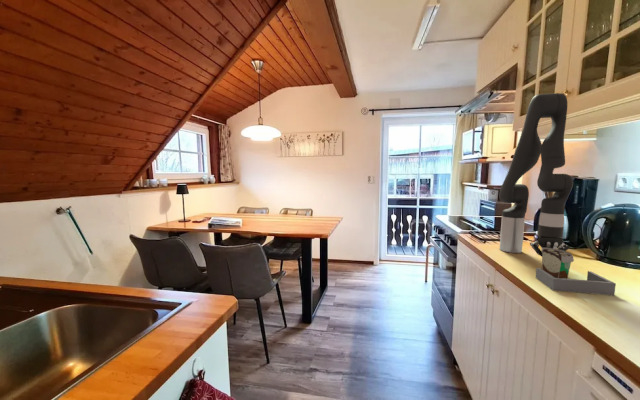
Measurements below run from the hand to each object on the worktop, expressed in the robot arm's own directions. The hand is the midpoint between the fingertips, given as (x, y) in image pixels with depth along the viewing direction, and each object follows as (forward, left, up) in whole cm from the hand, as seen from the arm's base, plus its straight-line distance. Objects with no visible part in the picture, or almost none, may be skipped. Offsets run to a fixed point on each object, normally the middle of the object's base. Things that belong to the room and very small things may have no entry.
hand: (547, 266), depth 108 cm
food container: (+8, 0, -2) cm, 8 cm away
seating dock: (+15, 0, -2) cm, 15 cm away
